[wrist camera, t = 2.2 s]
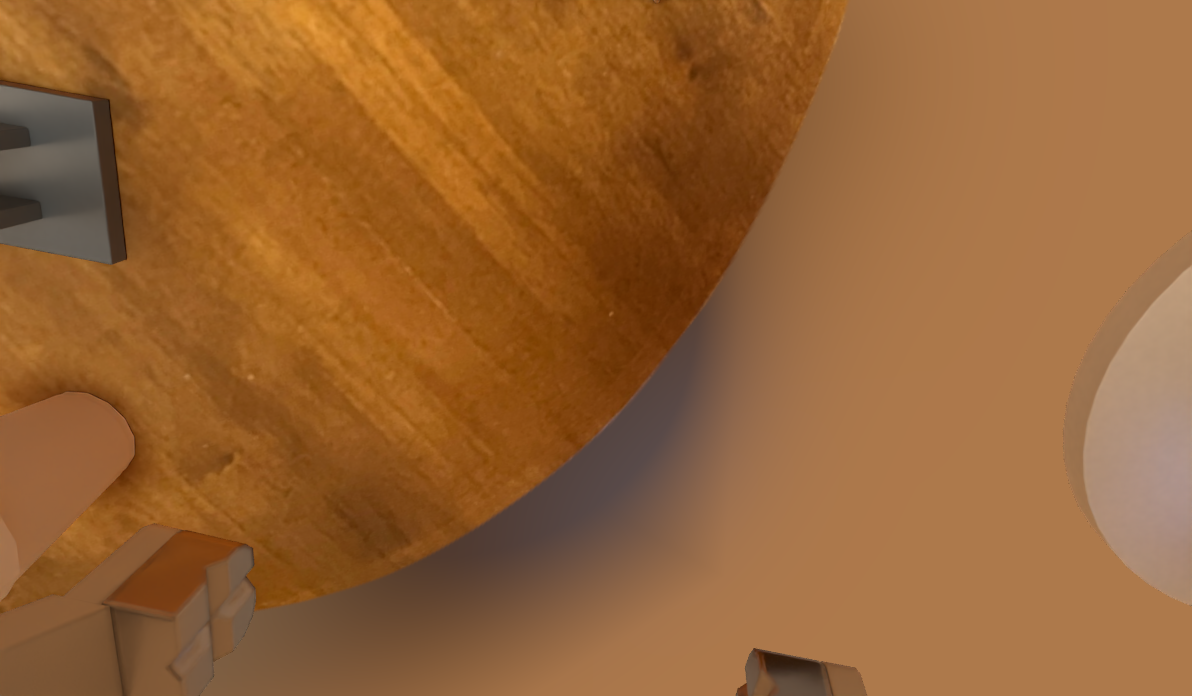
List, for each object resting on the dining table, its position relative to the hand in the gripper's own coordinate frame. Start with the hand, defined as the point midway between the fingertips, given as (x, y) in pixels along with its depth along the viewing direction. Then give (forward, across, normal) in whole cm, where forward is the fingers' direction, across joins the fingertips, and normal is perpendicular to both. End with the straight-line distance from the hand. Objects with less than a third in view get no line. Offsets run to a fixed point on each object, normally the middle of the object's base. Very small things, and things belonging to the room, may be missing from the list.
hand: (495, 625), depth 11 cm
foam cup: (+29, -32, -20) cm, 48 cm away
